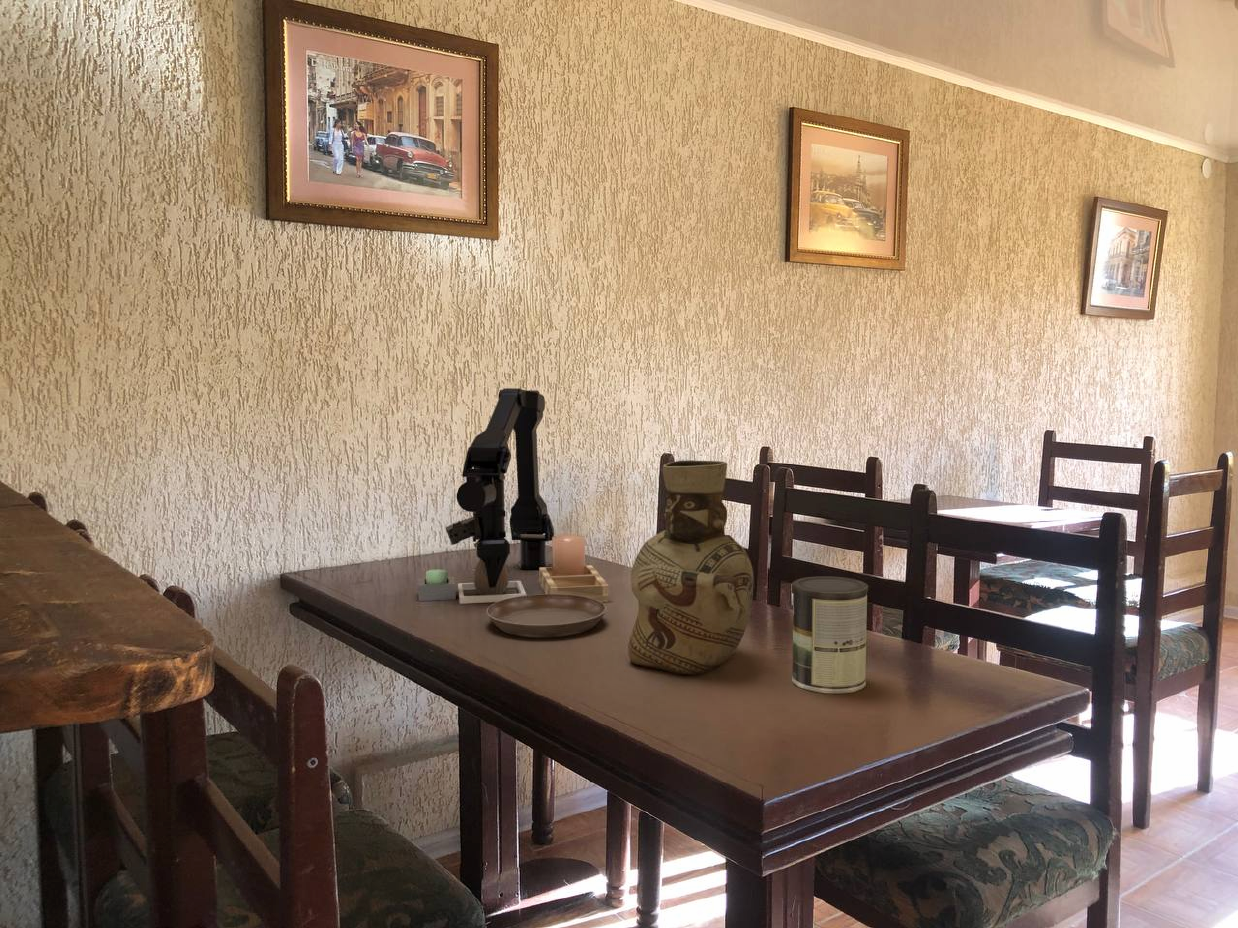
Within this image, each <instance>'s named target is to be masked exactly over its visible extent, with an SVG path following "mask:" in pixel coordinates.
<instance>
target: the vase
mask: <svg viewBox="0 0 1238 928" xmlns="http://www.w3.org/2000/svg"><path fill="white" fill-rule="evenodd" d="M509 575H510V574H509V570H508V567H507V565H506V563H505V564H504V566H503V569H502V571H501V574H500V576H499V579H498V581H497V584H496V586H495V588H490V587H489V583H488V578H487V573H486V568H485V563H484V562H483V561H482V560H481V559H480V558H479V560H478V561H477V563H476V565H475V566H474V570H473V576H472V577H473V579H472V581H473V583H474V586H475V588H476V589H475V590H476V592H477V593H478V594H479V596H482V595H502V594H503V593H504V592H505V591H506V589H508V588H507V585H508V581H510V577H509Z"/></svg>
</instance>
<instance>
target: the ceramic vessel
mask: <svg viewBox="0 0 1238 928" xmlns="http://www.w3.org/2000/svg"><path fill="white" fill-rule="evenodd" d="M727 471H728V463H727V462H726V461H717V460H692V459H691V460H687V459H686V460H677V461H672V462H668V463H664V464H663V466H662V475H663V480H664V486H665V488H666V491H667V495H666V498H665V507H664V508H665V513H664V520H665V522H666V528H667V529H664V530H663V531H660V532H659V533H657V534H655V535H653V536H652V537H650V538H649V539H647V540H646V541H645V542H644V543H643V545H642V546H641V548H640V549H639V551H638V554H636V555H637V556H636V557H635V559H634V561H633V564H632V568H631V572H630V583H631V584H630V585H631V591H632V593H633V595H634V597H635V598H636V600H637V601H638V602H637V603H638V612H637V617H636V619H635V623H634V625H633V628H632V631H631V634H630V636H629V640H628V644H627V654H628V657H629V659H630V661H631V662H632V663H633V664H635V665H638V666H641V667H645V668H647V669H648V668H651V669H657V670H661V671H666V672H669V673H672V674H675V675H676V674H677V675H682V676H683V675H685V676H697V675H701V674H705V673H708V672H710V671H712V670H714V669H715V668H719V667H720V666H722V665H724V664H725V663H726V662H728V660H729V659H730V658H731V657H732V656H733V655H734V653H735V651H736V650H737V648H738V647H739V645H740V643H741V642H742V641H741V640H742V639H743V637H744V634H745V631H746V628H747V625H748V624H749V619H750V614H751V611H752V606H753V605H752V603H753V598H754V597H753V595H754V591H753V590H754V570H753V566H752V562H751V560H750V557H749V555H748V553H747V552H746V550H745V548H743V546H742V545H741V544H740V543H739V542H738V541H736V540H735V538H733V537H732V535H731V534H725V526H726V523H727V519H728V509H727V507H726V506H725V504H724V502H723V492H724V489H725V482H726V479H727V477H726V476H727Z"/></svg>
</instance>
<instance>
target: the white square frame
mask: <svg viewBox="0 0 1238 928" xmlns="http://www.w3.org/2000/svg"><path fill="white" fill-rule="evenodd" d="M511 588H513V589H514V588H516V589H517V592H518V593H510V594H509V593H507V594H506V593H505V594H502V595H482V596H481V595H464V591H467V590H468V591H469V590H476V588H475V586H474V582H463V583H460V582H459V583H457V593H458V600H459V604H460V605H462V604H463V605H464V604H465V605H466V604H479V603H481V604H482V603H496V602H499V601H502V600H505V599H509V598H514V597H519V596H526V595H527V593H526V590H525V588H524V586H523V584H522V581H521V580H508V585H507V588H506V589H511Z"/></svg>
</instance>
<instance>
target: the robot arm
mask: <svg viewBox="0 0 1238 928" xmlns="http://www.w3.org/2000/svg"><path fill="white" fill-rule="evenodd" d="M497 397H498V400H497V403H496V405H495V408H494V410H493V412H492V414H491V416H490V418H489V419H490V420H489V421H488V424H487V426H486V429H485V430H484V431H482V432H480V433H479V434H477V435H476V436H475V437H474V439H473V440H472V441H471V444H470V445H469V446H468V449H467V451H466V452H467V453H466V458H465V461H464V465H463V469H462V473H461V476H462V477H463V478H465V482H463V483H462V484H461V485H460V486H459V487H458V490H457V492H456V494H455V495H456V502H457V503H458V505H459V507H460V508H461V509H462V510H464V511H465V512H469V513H472V516H471V517H469V518H468V517H467V518H465V519H462V520H458V521H457V522H455V523H454V522H452V524H450V525H448V526H446V527H445V530H446V531H445V532H446V534H447V536H448V538H449V541H450V545H452V546H454V545H457V544H459V543H460V542H463V541H465V540H467V539H470V538H472V542H473V546H474V547H473V548H475V554H476V557H477V558H478V559H479V560H480V559H481V560H482V561H483V562H484V563H485V568H486V573H487V578H488V583H489V587H490V588H495V586H496V584H497V581H498V579H499V576H500V574H501V571H502V569H503V566H504V564H506V562H507V559H508V557H509V555H510V554H511V544H510V543H509V540H508V539H506V537H507V533H506V532H507V531H506V530H505V528H506V527H505V526H506V524H505V523H506V522H505V520H506V519H505V517H506V510H505V480H506V475H505V474H507V472H508V470H509V466H510V462H511V459H512V453H511V451H510V448H509V443H508V442H509V439H510V437H511V434H512V432H513V431H514V437H515V438H514V439H515V441H514V442H515V456H516V457H515V458H516V459H515V460H516V476H517V480H516V481H517V482H516V483H517V498H516V500H515V502H514V504H513V505H512V506H511V508H510V517H509V527H510V535H511V541H519V545H520V546H519V549H520V554H519V555H520V561H517V566H518V568H519V570H537V569H538V570H539V568H540V567H550V565H549V563H548V562H547V553H546V552H547V545H546V543H548V542H551V541H552V537H553V536H555V528H554V525H553V523H552V522H553V521H552V520H551V516H550V515H549V513H548V505H547V503H546V502H545V500H544V499H543V497H542V496H541V494H540V483H539V481H540V480H539V462H538V458H539V457H538V440H537V439H538V437H537V429H538V427H539V425H540V423H541V422H542V420H543V418H544V412H545V408H546V400H545V396H544V395H543V394H541V392H540V391H539V390H534V389H533V390H532V389H531V390H528V389H522V388H520V387H518V388H514V387H513V388H512V387H511V388H509V387H508V388H506V387H505V388H502V389H500V390H499V392H498V396H497Z"/></svg>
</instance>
